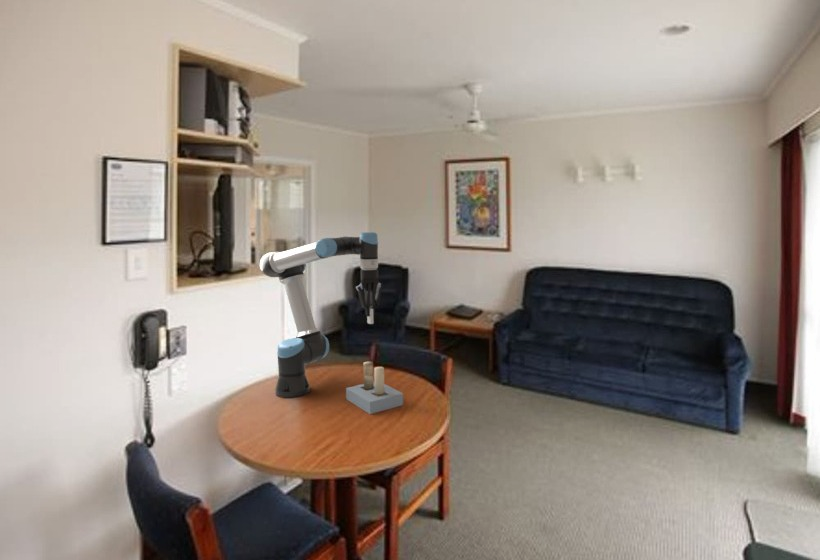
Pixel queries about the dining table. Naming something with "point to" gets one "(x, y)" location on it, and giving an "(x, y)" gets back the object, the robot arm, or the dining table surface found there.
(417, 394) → the dining table surface
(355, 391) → the seat board
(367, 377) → the beech leg
